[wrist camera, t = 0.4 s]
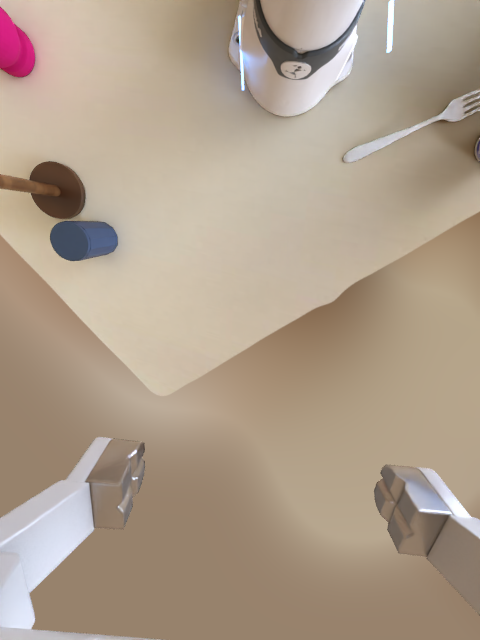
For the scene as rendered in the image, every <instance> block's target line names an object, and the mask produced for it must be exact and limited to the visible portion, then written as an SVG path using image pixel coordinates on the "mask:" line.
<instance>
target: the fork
mask: <svg viewBox="0 0 480 640" xmlns="http://www.w3.org/2000/svg"><path fill="white" fill-rule="evenodd" d="M478 92H480V89H478V90H475V91H473V92H470V93H468V94H465V95H463V96H460V97H458V98H456V99H454V100H452V101H451V102H450V103H449V104H448V106H447V107H446V108H445V110H444V111H443V112H442V113H441V114H439V115H437V116H435V117H433V118H431V119H429V120H426V121H424V122H422V123H419V124H417V125H414V126H412V127H409V128H406V129H404V130H401V131H398V132H395V133H393V134H390V135H387V136H385V137H382V138H379V139H377V140H374V141H371V142H368V143H366V144H363V145H360V146H358V147H355V148H353V149H351V150H350V151H348V152H347V153H346V154H345V155H344V157H343V161H344V162H349V163H350V162H354V161H357V160H359V159H361V158H363V157H365V156H367V155H369V154H371V153H373V152H375V151H377V150H379V149H381V148H383V147H385V146H387V145H389V144H391V143H393V142H394V141H396V140H398V139H400V138H402V137H404V136H406V135H408V134H409V133H411V132H413V131H415V130H417V129H419V128H422V127H424V126H426V125H428V124H430V123H433V122H435V121H438V120H441V119H444V120H447V121H450V122H456V121H459V120H462V119H464V118H466V117H467V116H469V115H471V114H473V113H475V112H477V111H479V110H480V107H479V108H477V109H475V110H473V111H471V112H469V113H467V114H464V113H465V112H466V111H467V110H469V109H471V108H473V107H475V106H477V105H479V104H480V101H479V102H477V103H475V104H472V105H470V106H468V107H464V106H465V105H466V104H468V103H470V102H472V101H474V100H476V99H479V98H480V95H478V96H476V97H474V98H471V99H469V100H466V101H462V100H463V99H464V98H466V97H469V96H471V95H473V94H476V93H478Z"/></svg>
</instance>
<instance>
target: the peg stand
mask: <svg viewBox="0 0 480 640" xmlns="http://www.w3.org/2000/svg"><path fill="white" fill-rule="evenodd" d="M0 189H6V190H13V191H20V192H28V193H31V195H32V198H33V200H34V202H35V203H36V205H37V206H38V207H39V208H40V209H41V210H42V211H43V212H45V213H46V214H48V215H49V216H52V217H54V218H60V219H68V218H72V217H74V216H76V215H77V214H79V213H80V211H81V210H82V208H83V206H84V203H85V191H84V187H83V184H82V182H81V180H80V179H79V177H78V176H77V175H76V173H75V172H74V171H72V170H71V169H70V168H68V167H67V166H65V165H63V164H60V163H57V162H50V161H49V162H43V163H41V164H39V165H37V166H36V167H35V168H34V169H33V171H32V173H31V175H30V179H29V180H27V179H22V178H17V177H12V176H7V175H2V174H0Z"/></svg>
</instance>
